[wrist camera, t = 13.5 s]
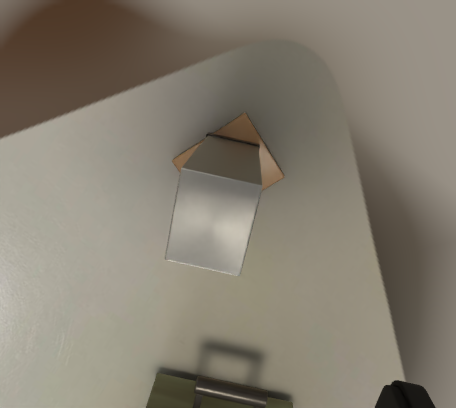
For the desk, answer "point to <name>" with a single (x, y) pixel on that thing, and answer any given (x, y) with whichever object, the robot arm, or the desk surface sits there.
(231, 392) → the drawer
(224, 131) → the cork mat
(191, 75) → the desk surface
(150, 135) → the desk surface
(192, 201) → the brushed metal pillar
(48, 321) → the desk surface
